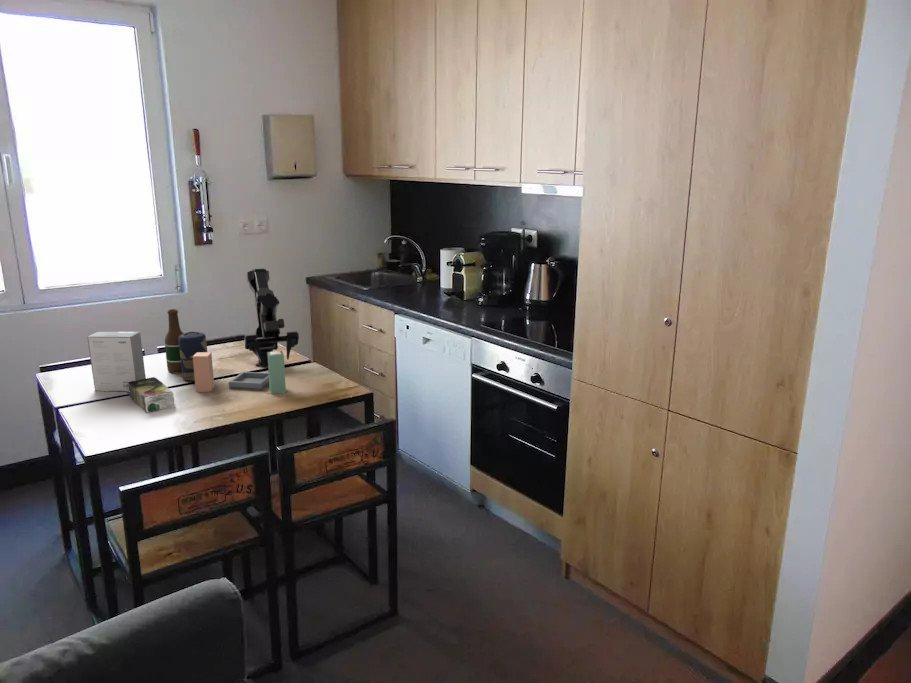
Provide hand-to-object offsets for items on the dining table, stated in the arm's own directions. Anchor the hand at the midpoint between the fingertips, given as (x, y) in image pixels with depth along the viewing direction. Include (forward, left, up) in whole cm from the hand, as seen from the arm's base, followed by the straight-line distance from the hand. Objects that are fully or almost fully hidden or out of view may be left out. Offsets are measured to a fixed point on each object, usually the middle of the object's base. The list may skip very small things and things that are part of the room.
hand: (274, 360), depth 241 cm
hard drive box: (+8, -55, -11) cm, 56 cm away
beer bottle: (-14, -45, -11) cm, 48 cm away
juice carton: (+19, -36, -11) cm, 42 cm away
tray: (-3, -11, -11) cm, 15 cm away
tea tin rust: (+5, -25, -11) cm, 27 cm away
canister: (-6, -33, -11) cm, 36 cm away
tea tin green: (+3, +1, -11) cm, 11 cm away
